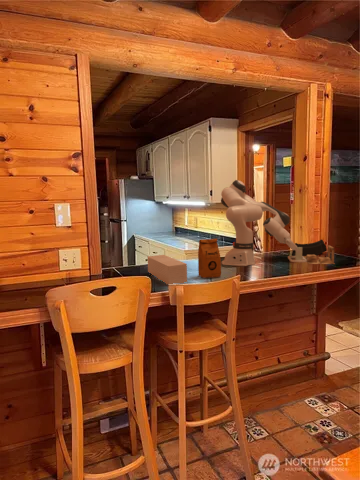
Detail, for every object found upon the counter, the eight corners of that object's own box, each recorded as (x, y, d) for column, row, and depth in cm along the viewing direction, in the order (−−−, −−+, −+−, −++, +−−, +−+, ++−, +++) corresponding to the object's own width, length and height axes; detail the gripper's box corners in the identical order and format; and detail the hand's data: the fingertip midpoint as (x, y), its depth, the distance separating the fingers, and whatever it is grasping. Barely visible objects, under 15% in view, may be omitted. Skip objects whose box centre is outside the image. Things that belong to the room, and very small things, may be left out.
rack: (308, 265, 209) (308, 248, 207) (304, 261, 220) (305, 245, 218) (335, 265, 206) (335, 248, 205) (330, 262, 217) (330, 245, 215)
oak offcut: (308, 258, 211) (308, 255, 211) (306, 257, 215) (306, 254, 215) (316, 258, 211) (316, 255, 211) (314, 257, 215) (314, 254, 215)
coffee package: (222, 278, 184) (222, 239, 181) (201, 279, 181) (200, 240, 178) (217, 274, 193) (216, 237, 190) (197, 275, 191) (196, 238, 188)
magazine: (291, 245, 232) (323, 231, 241) (288, 245, 235) (319, 230, 244) (296, 267, 236) (327, 252, 245) (293, 266, 239) (324, 251, 248)
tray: (290, 263, 215) (290, 260, 215) (287, 259, 229) (287, 256, 228) (306, 263, 213) (306, 260, 213) (302, 259, 227) (302, 256, 227)
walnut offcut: (307, 262, 212) (307, 258, 211) (305, 261, 217) (305, 257, 216) (317, 262, 211) (317, 258, 210) (315, 261, 216) (315, 257, 215)
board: (295, 261, 220) (296, 247, 219) (295, 260, 222) (295, 247, 221) (302, 261, 220) (302, 247, 218) (301, 260, 221) (301, 247, 220)
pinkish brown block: (148, 273, 200) (147, 256, 198) (164, 271, 204) (163, 254, 203) (169, 286, 171) (168, 266, 170) (187, 283, 176) (186, 263, 174)
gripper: (289, 235, 209) (304, 250, 209) (285, 232, 229) (299, 245, 229) (281, 242, 211) (297, 257, 210) (278, 238, 231) (292, 252, 230)
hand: (298, 251), depth 220 cm, fingers open, 8 cm apart
